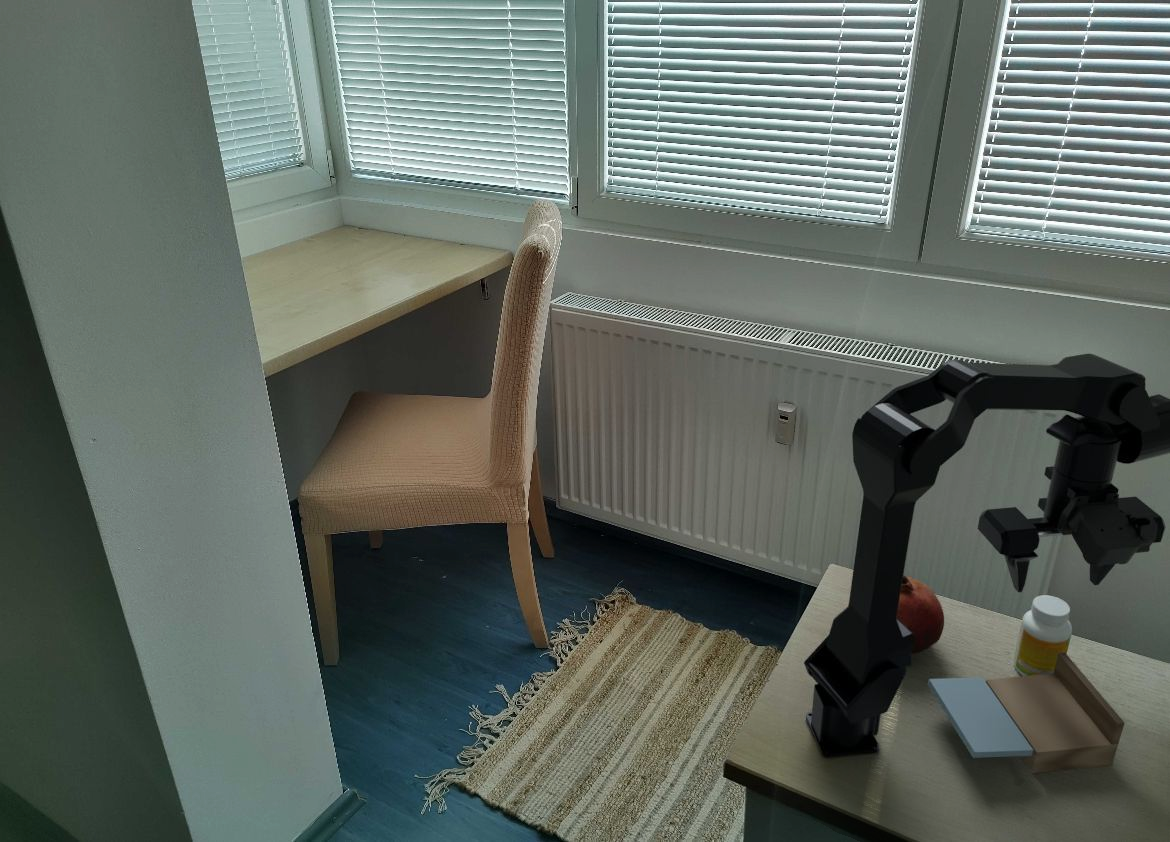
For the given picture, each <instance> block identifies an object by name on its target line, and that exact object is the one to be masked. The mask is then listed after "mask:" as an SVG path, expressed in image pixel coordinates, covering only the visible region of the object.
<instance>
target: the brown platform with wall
mask: <svg viewBox="0 0 1170 842" xmlns="http://www.w3.org/2000/svg"><path fill="white" fill-rule="evenodd" d="M985 682H986V683H987V685H988V686H989V688H990V689H991V690H992V692H993V693H994V695H995V696H996V698H997V699H998V700H999V702H1000V703H1001V705H1002V706H1003V708H1004V709H1005V710H1006V712H1007V713H1008V715H1009V716H1010V718H1011V719H1012V720H1013V722H1014V723H1015V725H1016V726H1017V727H1018V729H1019V730H1020V732H1021V733H1022V735H1023V736H1024V737H1025V739H1026V740H1027V742H1028V743H1029V745H1030V746H1031V747H1032V749H1033V752H1032V755H1031V756H1019V757H1020V758H1021V759H1022V761H1023V763H1024V764H1025V765H1026V767H1027V768H1028V770H1029V771H1030V773H1031V774H1033V773H1034V774H1036V773H1047V772H1054V771H1061V770H1062V771H1063V770H1072V769H1073V770H1074V769H1082V768H1090V767H1092V768H1093V767H1100V766H1109V765H1113V763H1114V760H1115V757H1116V753H1117V750H1118V746H1119V744H1120V740H1121V736H1122V733H1123V730H1124V727H1125V724H1126V722H1125V721H1124V720H1123V719H1122V718H1121V717H1120V715H1119V714H1118V713H1117V712H1116V711H1115V709H1114V708H1113V707H1112V706H1111V704H1109V703H1108V701H1107V700H1106V699H1105V697H1104V696H1103V695H1102V694H1101V693H1100V692H1099V690H1098V689H1097V688H1096V687H1095V686H1094V685H1093V683H1092V682H1091V681H1090V680H1089V679H1088V677H1087V676H1086V675H1085V674H1084V673H1083V672H1082V671H1081V669H1080V668H1079V666H1077V665H1076V663H1075V662H1074V661H1073V660H1072V659H1071V658H1070V656H1069V655H1068V654H1066V653H1058V657H1057V661H1056V665H1055V669H1054V673H1050V674H1040V675H1030V676H1023V675H1021V676H1011V677H1003V678H1002V677H1001V678H992V679H991V678H990V679H985Z"/></svg>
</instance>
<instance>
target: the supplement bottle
mask: <svg viewBox="0 0 1170 842" xmlns="http://www.w3.org/2000/svg"><path fill="white" fill-rule="evenodd" d="M1030 608H1031V609H1030V610H1028V611H1026V612H1025V613H1024V615H1023V616H1022V619H1021V624H1020V629H1019V632H1018V637H1017V642H1016V646H1015V647H1016V648H1015V650H1014V655H1013V665H1014V668H1015V670H1016V671H1017V672H1018V673H1019V674H1020V675H1021V676H1030V675H1040V674H1050V673H1054V669H1055V665H1056V661H1057V657H1058V653H1066V654H1067V653H1068V649H1069V646H1070V641H1071V639H1072V638H1071V637H1072V634H1073V627H1072V624H1071V622H1070V620H1069V618H1070V613H1071V607H1070V605H1069V604H1068V602H1066V601H1064V600H1063V599H1062V598H1059V597H1056V596H1053V595H1045V594H1042V595H1039V596H1036V597H1035V598H1034V599H1033V600H1032V604H1031V607H1030ZM1067 655H1068V654H1067Z"/></svg>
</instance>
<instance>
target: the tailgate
mask: <svg viewBox="0 0 1170 842" xmlns="http://www.w3.org/2000/svg"><path fill="white" fill-rule="evenodd" d="M985 681H986V679H984V678H983V677H957V678H956V677H953V678H928V681H927V682H928V683H927V686H928V688H929V689H930V691H931V692H932V693H933V695H934V697H935V698H936V701H937V702H938V704H939V705H940V706H941V708H942V710H943V712H944V713H945V715H946V717H947V718H948V720H949V722H950V723H951V724H952V726H953V728H954V729H955V731H956V733H957V734H958V736H959V738H960V740H961V741H962V742H963V744H964V746H965V747H966V749H967V750H968V752H969V754H970V756H971V757H972V758H973V759H974V758H975V759H977V758H978V759H979V758H980V759H981V758H1003V757H1004V758H1005V757H1008V758H1009V757H1020V756H1031V755H1032V752H1033V749H1032V747H1031V746H1030V745H1029V743H1028V742H1027V740H1026V739H1025V737H1024V736H1023V735H1022V733H1021V732H1020V730H1019V729H1018V727H1017V726H1016V725H1015V723H1014V722H1013V720H1012V719H1011V718H1010V716H1009V715H1008V713H1007V712H1006V710H1005V709H1004V708H1003V706H1002V705H1001V703H1000V702H999V700H998V699H997V698H996V696H995V695H994V693H993V692H992V690H991V689H990V688H989V686H988V685H987V683H986V682H985Z"/></svg>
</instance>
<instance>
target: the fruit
mask: <svg viewBox="0 0 1170 842" xmlns="http://www.w3.org/2000/svg"><path fill="white" fill-rule="evenodd" d="M897 619H898V620H899V621H900V622H901V623H902V624H903V625H904V626H905V627H906V628H908V629H909V630H910V631H911V632H912V633H913V634H914V640H915V643H914V646H913V649H912V652H911V654H915V653H916V654H917V653H922V652H925V651H926V650H928V649H929V648H931V647H933V645H936V643H938V642H939V640H940V639H941V636H942V635H943V631H944V629H945V628H944V627H945V614H944V609H943V605H942V604H941V602H940V601H939V599H938V596H937V595H936V594H935V592H934V591H933V590H932V589H931V587H930V586H928V585H927V584H925V583H924V582H923V581H920V580H917V579H915V578H913V577H910V576H906V575H904V574H903V580H902V586H901V592H900V598H899V605H898V611H897Z"/></svg>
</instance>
